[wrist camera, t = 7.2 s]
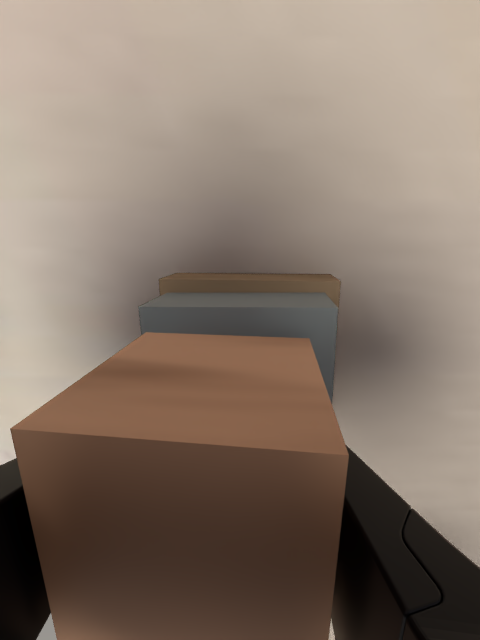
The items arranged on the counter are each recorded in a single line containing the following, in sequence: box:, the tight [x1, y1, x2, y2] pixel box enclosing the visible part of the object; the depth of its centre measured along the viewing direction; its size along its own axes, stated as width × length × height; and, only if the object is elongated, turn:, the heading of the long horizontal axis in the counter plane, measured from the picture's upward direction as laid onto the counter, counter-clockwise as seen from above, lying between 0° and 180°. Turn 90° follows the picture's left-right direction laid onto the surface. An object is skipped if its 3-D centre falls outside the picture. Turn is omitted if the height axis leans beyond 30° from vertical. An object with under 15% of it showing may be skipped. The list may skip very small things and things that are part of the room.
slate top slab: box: [138, 293, 338, 404], centre depth 13 cm, size 7×7×3 cm
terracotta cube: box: [10, 332, 349, 640], centre depth 7 cm, size 5×5×5 cm
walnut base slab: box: [159, 273, 341, 320], centre depth 16 cm, size 8×8×3 cm
